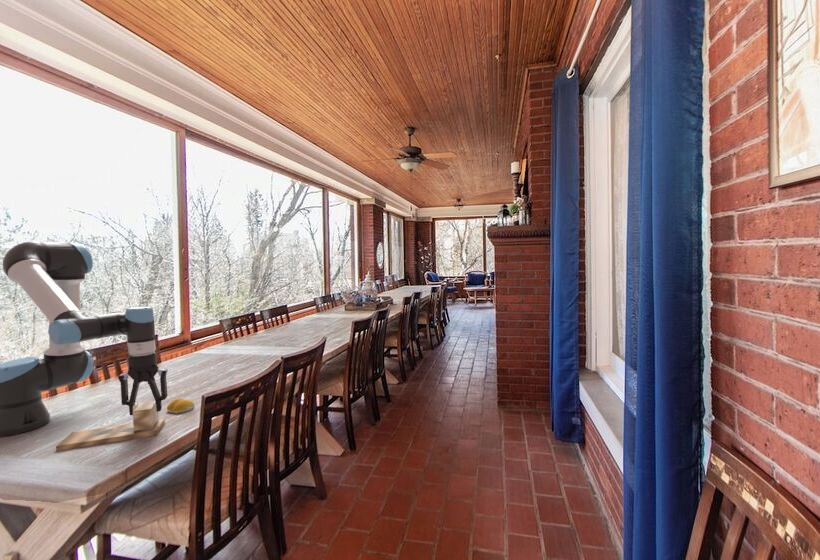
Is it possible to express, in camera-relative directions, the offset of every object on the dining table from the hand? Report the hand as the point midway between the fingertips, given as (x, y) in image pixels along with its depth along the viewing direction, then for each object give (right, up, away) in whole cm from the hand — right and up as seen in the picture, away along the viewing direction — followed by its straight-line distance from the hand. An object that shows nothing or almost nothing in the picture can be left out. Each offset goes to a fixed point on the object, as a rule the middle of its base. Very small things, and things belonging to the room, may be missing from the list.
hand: (146, 422), depth 127 cm
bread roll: (0, -2, +19) cm, 19 cm away
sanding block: (0, -1, 0) cm, 1 cm away
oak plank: (-8, -3, -3) cm, 9 cm away
